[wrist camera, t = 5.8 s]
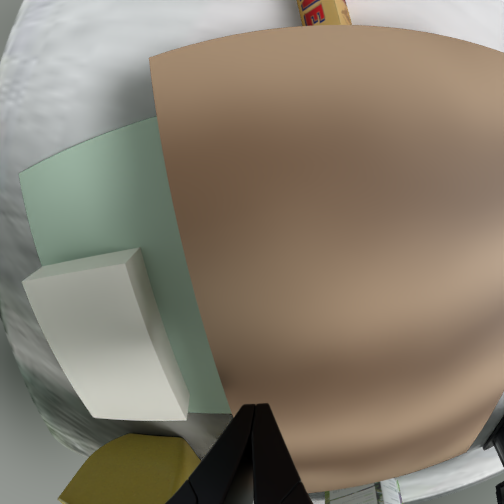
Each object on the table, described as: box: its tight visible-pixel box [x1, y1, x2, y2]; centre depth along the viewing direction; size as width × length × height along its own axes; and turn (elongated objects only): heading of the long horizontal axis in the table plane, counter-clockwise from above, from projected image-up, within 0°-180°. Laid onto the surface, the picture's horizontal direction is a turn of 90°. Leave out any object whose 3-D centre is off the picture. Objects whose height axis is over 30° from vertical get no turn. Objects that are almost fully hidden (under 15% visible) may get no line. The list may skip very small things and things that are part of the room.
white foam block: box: [22, 247, 190, 421], centre depth 12 cm, size 9×6×2 cm, turn 8°
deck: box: [149, 25, 504, 493], centre depth 11 cm, size 22×14×4 cm, turn 9°
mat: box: [19, 116, 232, 414], centre depth 13 cm, size 16×11×1 cm
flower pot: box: [58, 433, 201, 504], centre depth 14 cm, size 9×9×9 cm
